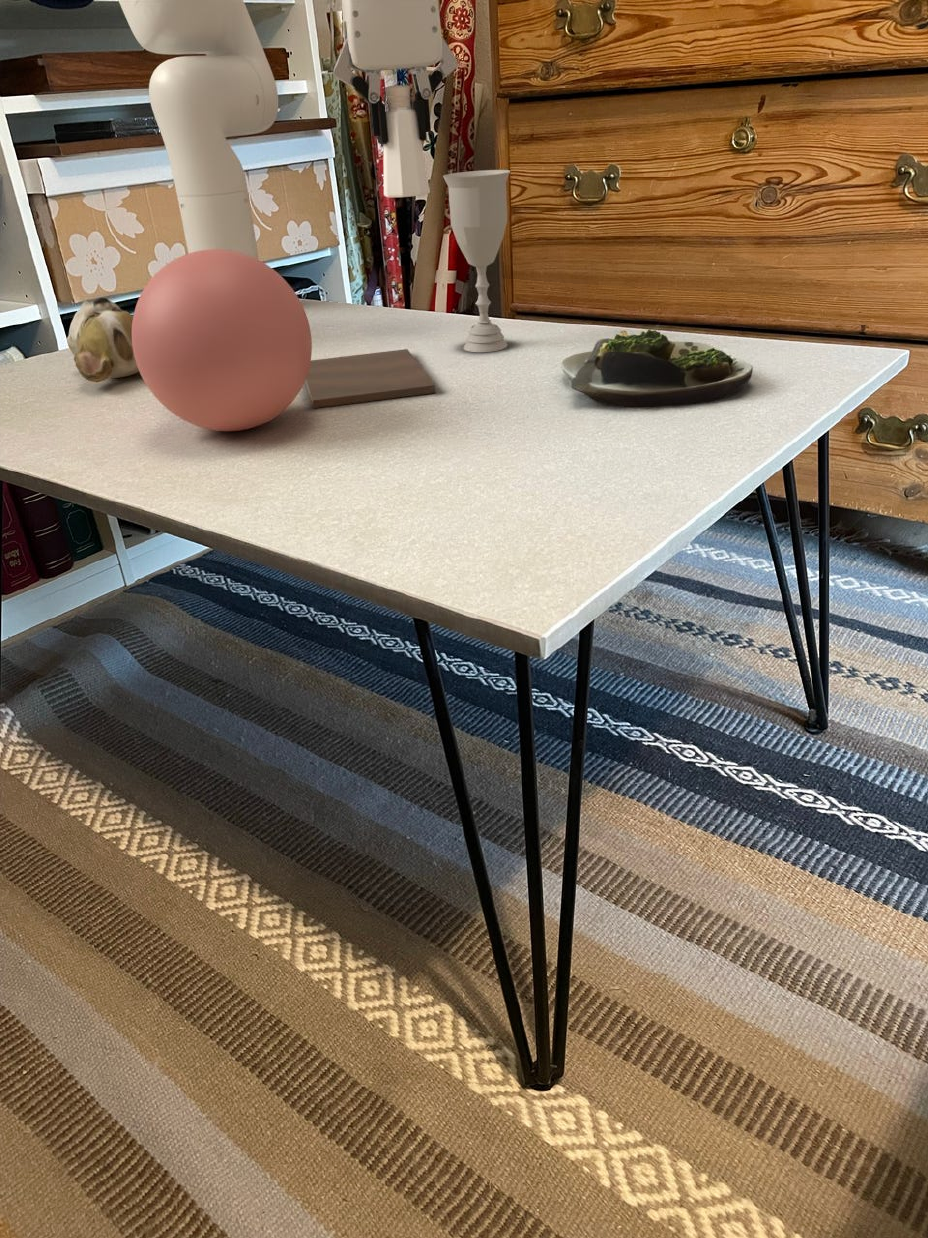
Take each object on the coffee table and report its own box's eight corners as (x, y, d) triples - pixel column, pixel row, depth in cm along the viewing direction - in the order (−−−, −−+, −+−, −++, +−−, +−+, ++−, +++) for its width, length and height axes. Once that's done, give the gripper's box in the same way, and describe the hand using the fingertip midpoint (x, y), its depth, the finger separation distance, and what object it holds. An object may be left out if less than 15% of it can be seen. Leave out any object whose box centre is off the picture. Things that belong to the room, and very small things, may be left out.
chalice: (480, 357, 104) (470, 177, 95) (442, 348, 109) (429, 176, 100) (529, 344, 108) (524, 170, 99) (490, 336, 113) (482, 169, 104)
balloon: (266, 383, 100) (240, 228, 93) (351, 427, 85) (328, 245, 78) (120, 415, 93) (79, 249, 86) (184, 468, 78) (142, 273, 71)
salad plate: (529, 364, 100) (527, 320, 98) (689, 346, 102) (691, 302, 100) (583, 417, 83) (582, 365, 81) (773, 394, 86) (778, 342, 83)
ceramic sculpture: (126, 278, 111) (174, 302, 101) (142, 352, 116) (190, 382, 105) (33, 294, 106) (74, 321, 96) (54, 371, 111) (95, 404, 100)
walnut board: (301, 368, 105) (300, 361, 104) (408, 355, 107) (407, 348, 106) (313, 408, 91) (312, 400, 91) (435, 392, 93) (435, 384, 93)
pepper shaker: (374, 196, 110) (363, 87, 104) (412, 191, 113) (403, 85, 107) (401, 198, 106) (391, 85, 101) (439, 192, 109) (431, 82, 103)
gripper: (454, -56, 102) (465, 134, 111) (300, -49, 99) (324, 146, 108) (472, -66, 96) (482, 136, 105) (308, -59, 93) (332, 149, 102)
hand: (402, 139), depth 107 cm, fingers closed on pepper shaker, 3 cm apart
